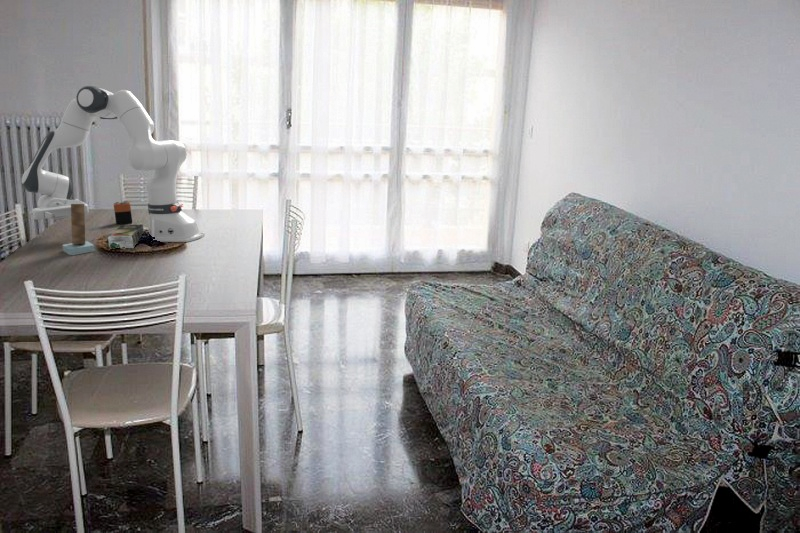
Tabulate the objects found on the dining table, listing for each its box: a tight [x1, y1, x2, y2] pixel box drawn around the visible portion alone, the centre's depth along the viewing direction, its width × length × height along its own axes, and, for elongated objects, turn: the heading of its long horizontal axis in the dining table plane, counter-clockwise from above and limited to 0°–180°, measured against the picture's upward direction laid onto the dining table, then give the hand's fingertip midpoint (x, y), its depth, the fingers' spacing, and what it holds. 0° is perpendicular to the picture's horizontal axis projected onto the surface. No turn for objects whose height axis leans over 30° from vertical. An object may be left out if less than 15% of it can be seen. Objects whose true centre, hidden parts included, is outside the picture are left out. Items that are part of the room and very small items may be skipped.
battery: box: [113, 200, 133, 225], centre depth 309 cm, size 4×7×10 cm, turn 114°
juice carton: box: [107, 224, 145, 249], centre depth 273 cm, size 20×10×6 cm, turn 8°
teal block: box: [62, 240, 96, 256], centre depth 263 cm, size 9×9×3 cm
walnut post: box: [70, 204, 86, 244], centre depth 262 cm, size 4×4×15 cm
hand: (65, 214), depth 269 cm, fingers open, 8 cm apart
